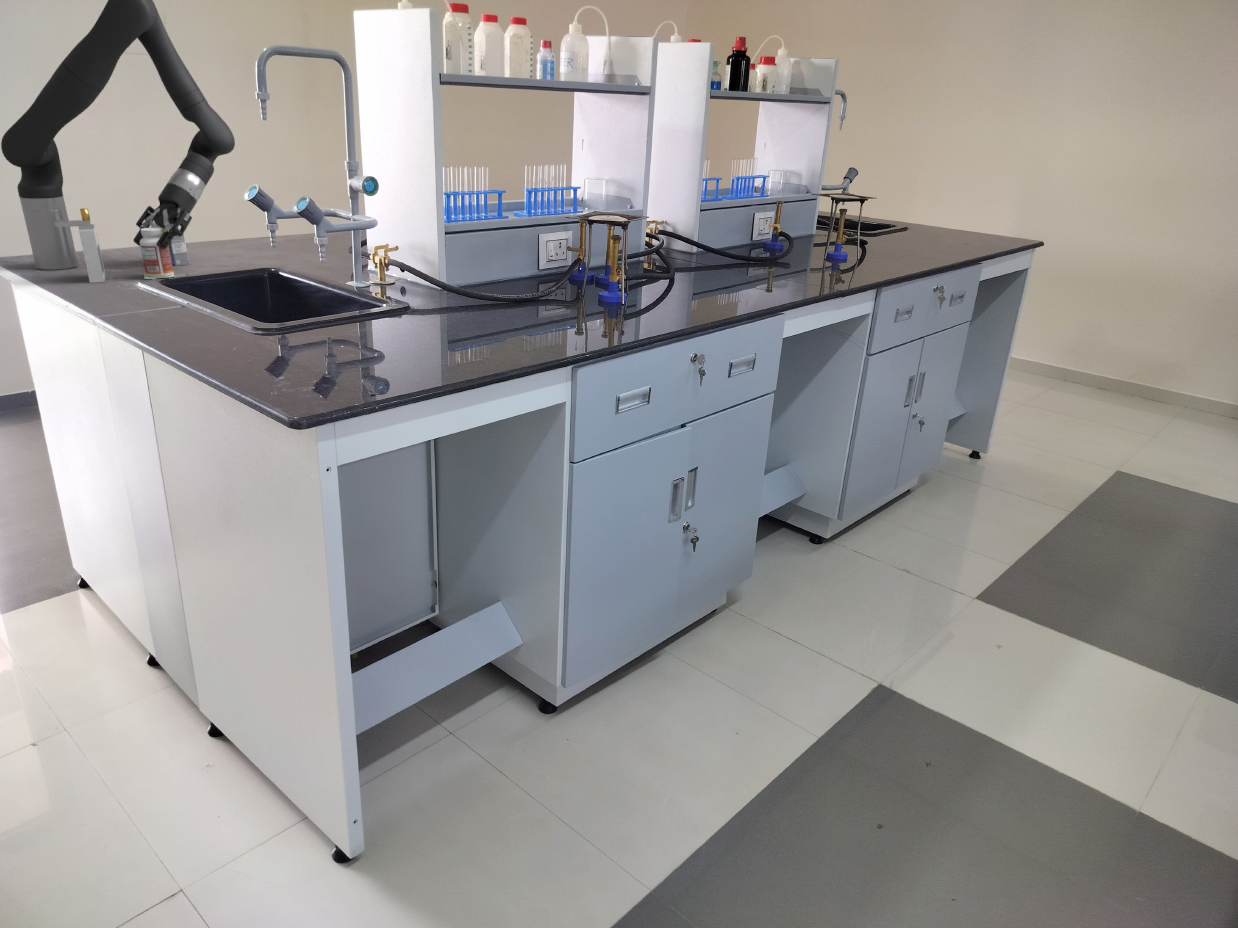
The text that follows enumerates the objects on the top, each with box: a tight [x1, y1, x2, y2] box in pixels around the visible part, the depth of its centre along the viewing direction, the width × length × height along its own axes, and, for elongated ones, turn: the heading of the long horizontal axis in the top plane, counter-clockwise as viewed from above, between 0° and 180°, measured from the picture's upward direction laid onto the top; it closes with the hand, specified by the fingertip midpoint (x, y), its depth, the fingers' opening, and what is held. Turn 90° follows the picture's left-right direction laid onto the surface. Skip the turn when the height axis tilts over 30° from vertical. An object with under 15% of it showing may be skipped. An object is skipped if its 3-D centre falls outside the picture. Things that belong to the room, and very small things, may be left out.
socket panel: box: [77, 223, 106, 284], centre depth 205 cm, size 9×3×13 cm, turn 27°
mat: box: [143, 271, 175, 280], centre depth 212 cm, size 6×6×1 cm
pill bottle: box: [139, 227, 174, 277], centre depth 209 cm, size 6×6×11 cm
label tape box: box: [154, 222, 190, 267], centre depth 226 cm, size 9×4×12 cm, turn 46°
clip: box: [55, 208, 92, 228], centre depth 199 cm, size 2×7×4 cm, turn 117°
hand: (148, 245), depth 208 cm, fingers open, 8 cm apart
